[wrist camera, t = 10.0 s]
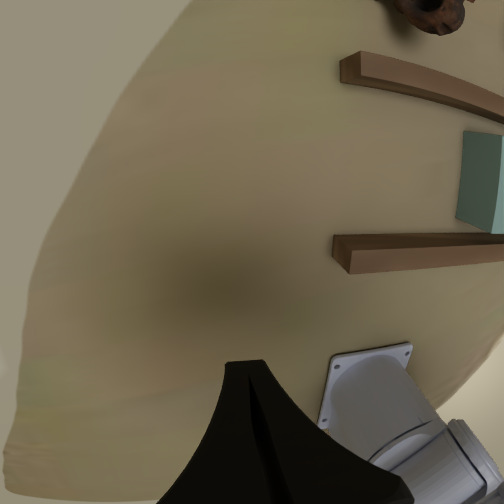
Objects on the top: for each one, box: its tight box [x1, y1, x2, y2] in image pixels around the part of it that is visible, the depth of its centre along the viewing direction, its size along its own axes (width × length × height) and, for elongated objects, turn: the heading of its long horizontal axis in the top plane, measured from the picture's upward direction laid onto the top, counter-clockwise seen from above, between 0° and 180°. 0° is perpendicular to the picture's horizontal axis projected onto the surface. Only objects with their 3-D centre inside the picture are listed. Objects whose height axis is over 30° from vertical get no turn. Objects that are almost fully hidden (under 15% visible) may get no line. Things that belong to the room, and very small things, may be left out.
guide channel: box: [332, 51, 504, 274], centre depth 19 cm, size 13×22×3 cm, turn 90°
